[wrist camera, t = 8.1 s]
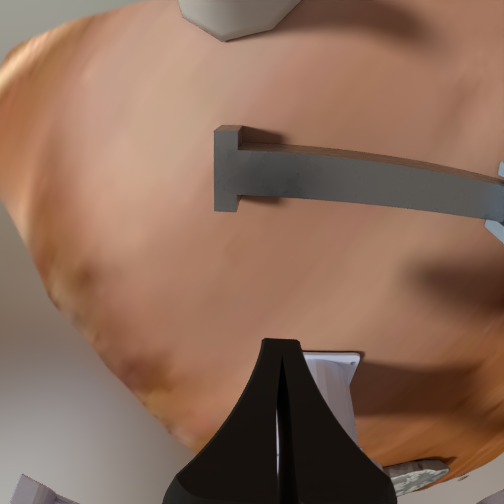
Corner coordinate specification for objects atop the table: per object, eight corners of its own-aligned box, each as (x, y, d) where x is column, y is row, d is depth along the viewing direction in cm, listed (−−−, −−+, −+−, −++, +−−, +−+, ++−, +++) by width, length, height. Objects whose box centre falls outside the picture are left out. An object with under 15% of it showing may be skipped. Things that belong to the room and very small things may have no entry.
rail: (527, 243, 19) (564, 277, 14) (221, 215, 20) (204, 260, 15) (549, 166, 15) (593, 190, 11) (222, 103, 16) (201, 108, 12)
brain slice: (333, 492, 47) (334, 504, 44) (371, 461, 38) (373, 477, 36) (413, 483, 47) (415, 494, 44) (460, 448, 39) (463, 461, 36)
